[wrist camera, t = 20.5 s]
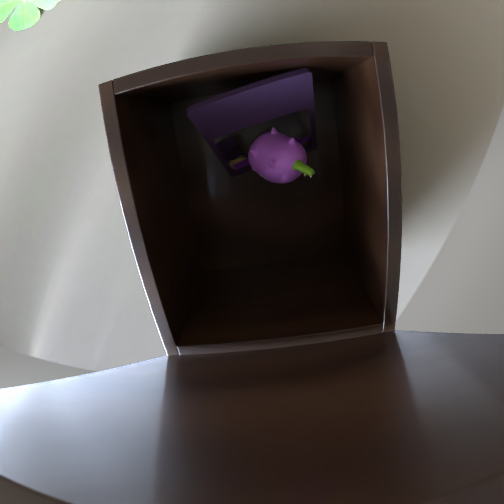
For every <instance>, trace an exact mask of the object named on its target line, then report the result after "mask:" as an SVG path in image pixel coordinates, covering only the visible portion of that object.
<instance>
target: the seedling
mask: <svg viewBox="0 0 504 504" xmlns="http://www.w3.org/2000/svg"><path fill="white" fill-rule="evenodd" d="M58 1H60V0H0V23H2V22H4V20H5V19H6V18H8V16H9V15H10V14H11V12H12V11H13V10H14V9H15V7H16V6H17V5H18V6H17V7H16V9H15V10H14V12H13V14H12V15H11V16H10V18H9V24H8V25H9V27H10V28H11V29H12V30H16V31H21V30H23V29H27V28H30V27H32V26H33V25H34V24H36V22H38V20H39V18H40V11H39V10H38V8H41V9H44V10H50V9H52V8H54V6H55V5H56V4H57V2H58ZM36 6H37V7H38V8H37V7H36Z"/></svg>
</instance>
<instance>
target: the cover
mask: <svg viewBox="0 0 504 504" xmlns="http://www.w3.org/2000/svg"><path fill="white" fill-rule="evenodd" d="M0 504H504V334H462V333H460V334H459V333H437V332H418V331H401V330H394V331H389V332H383V333H378V334H372V335H366V336H360V337H354V338H348V339H342V340H335V341H328V342H321V343H313V344H305V345H297V346H289V347H280V348H270V349H260V350H249V351H237V352H224V353H208V354H189V355H165V356H161V357H157V358H153V359H149V360H145V361H141V362H137V363H133V364H129V365H124V366H120V367H116V368H111V369H107V370H102V371H97V372H93V373H88V374H83V375H78V376H73V377H68V378H63V379H58V380H52V381H46V382H41V383H35V384H29V385H22V386H16V387H9V388H3V389H0Z"/></svg>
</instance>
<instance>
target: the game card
mask: <svg viewBox="0 0 504 504" xmlns="http://www.w3.org/2000/svg"><path fill="white" fill-rule="evenodd" d="M305 109H309V119H310V129H311V133H310V134H309V135H307V136H306V137H305V138H303V139H302V140H301V138H298V139H294V138H293V137H292V138H290V137H288V136H286V135H285V134H282V133H280V132H277V131H276V129H275V128H274V127H273V128H272V130H271V131H270V132H266V133H264V134H262V135H260V136H259V137H258V138H256V139H255V141H254V142H253V143H252V145H251V147H250V149H249V153H248V158H246V157H245V156H244V155H242V152H241V150H240V148H236V149H233V148H234V147H236V146H237V145H238V144H237V142H236V141H235V139H234V138H231V139H222V140H221V141H220V142H218V143H217V144H215V142H214V139H217V138H219V137H222V136H225V135H228V134H230V133H233V132H236V131H239V130H242V129H245V128H248V127H250V126H253V125H256V124H259V123H262V122H265V121H269V120H272V119H275V118H278V117H281V116H284V115H288V114H291V113H294V112H298V111H301V110H305ZM186 111H187V116H188V117H189V118H190V120H191V121H192V123H193V124H194V125H195V127H196V128H197V129H198V131H199V132H200V134H201V135H202V136H203V138H204V139H205V141H206V142H207V143H208V145H209V146H210V148H211V149H212V150H213V152H214V153H215V155H216V156H217V157H218V159H219V160H220V162H221V163H222V164H223V166H224V167H225V169H226V170H227V171H228V173H229V174H230V176H232V177H234V176H237V175H240V174H243V173H246V172H249V171H251V170H254V171H256V172H257V173H258V174H259V175H260V176H262V177H263V178H264V179H266V180H268V181H270V182H273V183H288V182H291V181H293V180H295V179H296V178H298V177H299V176H300V175H301V174H302V173H304V175H306V174H307V175H309V176H310V177H312V175H313V174H314V173H315V172H314V170H313V169H312V168H310V167H309V166H307V165H306V163H307V155H306V153H307V152H311V151H314V150H316V149H317V136H316V120H315V105H314V93H313V81H312V73H311V71H310V70H309V68H302V69H298V70H294V71H291V72H287V73H284V74H280V75H277V76H273V77H270V78H267V79H264V80H261V81H257V82H254V83H251V84H248V85H245V86H242V87H239V88H237V89H234V90H231V91H228V92H225V93H223V94H220V95H217V96H214V97H212V98H209V99H207V100H204V101H202V102H199V103H196V104H194V105H192V106H189V107H187V109H186ZM310 135H311V137H309V136H310ZM310 139H311V141H312V144H311V145H309V146H305V147H303V146H302V144H304V143H306V142H307V141H309V140H310ZM224 151H225V152H224ZM221 152H224V153H223V154H222V153H221ZM228 160H230V163H228V162H227V161H228ZM248 164H249V165H248ZM233 169H235V170H233Z"/></svg>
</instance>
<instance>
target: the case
mask: <svg viewBox="0 0 504 504" xmlns="http://www.w3.org/2000/svg"><path fill="white" fill-rule="evenodd" d="M302 68H309V70H310V71H311V73H312V81H313V93H314V105H315V120H316V136H317V149H316V150H314V151H311V152H307V153H306V155H307V163H306V165H307V166H309V167H310V168H312V169H313V170H314V172H315V173H314V174H313V175H312V177H310V176H309V175H307V174H306V175H304V173H302V174H301V175H300V176H299V177H298V178H296V179H295V180H293V181H291V182H288V183H273V182H270V181H268V180H266V179H264V178H263V177H262V176H260V175H259V174H258V173H257V172H256V171H254V170H251V171H249V172H246V173H243V174H240V175H237V176H234V177H232V176H230V174H229V173H228V171H227V170H226V169H225V167H224V166H223V164H222V163H221V162H220V160H219V159H218V157H217V156H216V155H215V153H214V152H213V150H212V149H211V148H210V146H209V145H208V143H207V142H206V141H205V139H204V138H203V136H202V135H201V134H200V132H199V131H198V129H197V128H196V127H195V125H194V124H193V123H192V121H191V120H190V118H189V117H188V116H187V111H186V109H187V107H189V106H192V105H194V104H196V103H199V102H202V101H204V100H207V99H209V98H212V97H214V96H217V95H220V94H223V93H225V92H228V91H231V90H234V89H237V88H239V87H242V86H245V85H248V84H251V83H254V82H257V81H261V80H264V79H267V78H270V77H273V76H277V75H280V74H284V73H287V72H291V71H294V70H298V69H302ZM99 93H100V100H101V106H102V113H103V119H104V125H105V131H106V136H107V142H108V147H109V152H110V157H111V162H112V167H113V172H114V177H115V181H116V186H117V190H118V194H119V199H120V203H121V207H122V211H123V215H124V219H125V223H126V227H127V230H128V234H129V238H130V242H131V245H132V249H133V252H134V256H135V259H136V263H137V266H138V269H139V273H140V276H141V279H142V283H143V286H144V289H145V292H146V295H147V298H148V301H149V304H150V307H151V310H152V313H153V316H154V319H155V322H156V325H157V328H158V331H159V333H160V336H161V339H162V342H163V344H164V347H165V350H166V352H167V355H189V354H208V353H224V352H237V351H249V350H260V349H270V348H280V347H289V346H297V345H305V344H313V343H321V342H328V341H335V340H342V339H348V338H354V337H360V336H366V335H372V334H378V333H383V332H389V331H394V330H395V322H396V313H397V303H398V292H399V279H400V262H401V238H402V183H401V158H400V142H399V130H398V119H397V109H396V100H395V92H394V84H393V77H392V71H391V64H390V58H389V52H388V47H387V43H386V42H368V41H328V42H305V43H291V44H279V45H269V46H261V47H253V48H245V49H239V50H232V51H226V52H220V53H215V54H209V55H204V56H199V57H195V58H190V59H185V60H181V61H177V62H173V63H169V64H165V65H161V66H157V67H153V68H150V69H146V70H143V71H139V72H136V73H133V74H129V75H126V76H123V77H120V78H117V79H114V80H111V81H108V82H105V83H102V84H100V85H99ZM273 127H274V128H275V129H276V131H277V132H280V133H282V134H285V135H286V136H288V137H290V138H292V137H293V138H294V139H298V138H301V140H302V139H303V138H305V137H306V136H307V135H309V134H310V133H311V129H310V119H309V109H305V110H301V111H298V112H294V113H291V114H288V115H284V116H281V117H278V118H275V119H272V120H269V121H265V122H262V123H259V124H256V125H253V126H250V127H248V128H245V129H242V130H239V131H236V132H233V133H230V134H228V135H225V136H222V137H219V138H217V139H214V142H215V144H217V143H218V142H220V141H221V140H222V139H231V138H234V139H235V141H236V142H237V144H238V145H237V146H236V147H234V148H233V149H236V148H240V150H241V152H242V155H244V156H245V157H246V158H248V153H249V149H250V147H251V145H252V143H253V142H254V141H255V139H256V138H258V137H259V136H260V135H262V134H264V133H266V132H270V131H271V130H272V128H273ZM309 137H311V135H310V136H309ZM311 144H312V141H311V139H310V140H309V141H307V142H306V143H304V144H302V146H303V147H305V146H309V145H311ZM224 152H225V151H224ZM224 152H221V153H222V154H223V153H224ZM227 162H228V163H230V160H228V161H227ZM248 165H249V164H248ZM233 170H235V169H233Z"/></svg>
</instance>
